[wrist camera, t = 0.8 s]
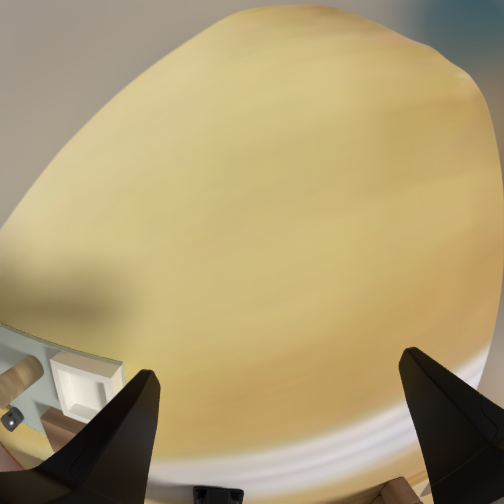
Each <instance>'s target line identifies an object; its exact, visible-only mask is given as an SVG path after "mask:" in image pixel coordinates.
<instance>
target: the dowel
mask: <svg viewBox="0 0 504 504" xmlns="http://www.w3.org/2000/svg"><path fill="white" fill-rule="evenodd" d="M43 375H44V369H43V366H42V364H41V362H40V361H39V360H38V359H37V358H36V357H35V356H33V355H29V356H28V357H26V358H25V359H23V360H22V361H20V362H19V363H17V364H16V365H14V366H13V367H11V368H10V369H8V370H7V371H5V372H4V373H2V374H1V375H0V408H2V409H4V408H5V407H6V406H8V405H9V404H10V403H11V402H12V401H13V400H15V399H16V398H17V397H18V396H19V395H20V394H22V393H23V392H24V391H25V390H26V389H28V388H29V387H30V386H31V385H32V384H34V383H35V382H36V381H37V380H39V379H40V378H41V377H42V376H43Z"/></svg>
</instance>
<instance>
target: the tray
mask: <svg viewBox="0 0 504 504" xmlns="http://www.w3.org/2000/svg"><path fill="white" fill-rule="evenodd" d="M50 363H51V368H52V372H53V377H54V381H55V385H56V389H57V393H58V397H59V401H60V404H61V408H62V411H63V414H64V415H65V416H68V417H70V418H73V419H76V420H78V421H81V422H84V423H87V424H88V423H89V422H90V421H91V420H92V419H93V418H94V417H95V416H96V415H97V414H98V413H99V412H100V411H101V410H102V409H103V408H104V407H105V406H106V405H107V404H108V403H109V402H110V401H111V400H112V399H113V397H114V396H115V395H116V394H117V393H118V392H119V391H120V390H121V389H122V388H123V384H122V375H121V366H119V365H114V364H110V363H106V362H102V361H98V360H94V359H91V358H87V357H83V356H80V355H77V354H73V353H70V352H67V351H64V350H62V351H61V352H59V353H58V354H56V355H55V356H54V357H52V358H51V359H50Z"/></svg>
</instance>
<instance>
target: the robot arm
mask: <svg viewBox="0 0 504 504" xmlns="http://www.w3.org/2000/svg"><path fill="white" fill-rule="evenodd" d="M399 372H400V376H401V380H402V384H403V389H404V393H405V397H406V401H407V405H408V408H409V411H410V414H411V417H412V420H413V423H414V426H415V430H416V433H417V436H418V440H419V443H420V447H421V450H422V454H423V457H424V461H425V465H426V469H427V473H428V477H429V482H430V485H431V491H432V496H433V501H434V504H504V409H502V408H501V407H499V406H498V405H496V404H495V403H493V402H492V401H490V400H489V399H487V398H486V397H484V396H483V395H482V394H480V393H479V392H478V391H476V390H475V389H474V388H472V387H471V386H470V385H468V384H467V383H465V382H464V381H463V380H461V379H460V378H459V377H457V376H456V375H454V374H453V373H452V372H450V371H449V370H447V369H446V368H445V367H443V366H442V365H440V364H439V363H438V362H436V361H435V360H433V359H432V358H431V357H429V356H428V355H426V354H425V353H424V352H422V351H421V350H419V349H418V348H416V347H410V348H406V349H405V350H404V352H403V354H402V357H401V359H400V361H399ZM160 389H161V388H160V383H159V381H158V379H157V377H156V375H155V373H154V371H152V370H147V369H142V370H140V371H139V372H138V373H137V374H136V375H135V376H134V377H133V378H132V379H131V380H130V381H129V382H128V383H127V384H126V385H125V386H124V387H123V388H122V389H121V390H120V391H119V392H118V393H117V394H116V395H115V396H114V397H113V399H112V400H111V401H110V402H109V403H108V404H107V405H106V406H105V407H104V408H103V409H102V410H101V411H100V412H99V413H98V414H97V415H96V416H95V417H94V418H93V419H92V420H91V421H90V422H89V423H88V424H87V425H86V426H84V427H83V429H82V430H80V431H79V432H78V433H77V434H76V435H75V436H74V437H73V438H72V439H71V440H70V441H69V442H68V443H67V444H66V445H64V446H63V447H62V448H61V449H60V450H58V451H57V452H56V453H54V454H53V455H52V456H51V457H49V458H48V459H47V460H45V461H44V462H43V463H41V464H40V465H39V466H37V467H35V468H32V469H29V470H22V471H8V472H0V504H144V499H145V492H146V486H147V479H148V473H149V467H150V461H151V456H152V450H153V445H154V440H155V434H156V429H157V423H158V412H159V400H160ZM193 494H194V504H242V501H243V496H244V491H243V490H231V489H215V488H204V487H194V488H193Z"/></svg>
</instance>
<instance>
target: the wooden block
mask: <svg viewBox="0 0 504 504" xmlns="http://www.w3.org/2000/svg"><path fill="white" fill-rule="evenodd" d="M380 494H381V495H380V496H379V497H377V498H375V500H374V501H373V502H372V503H371V504H423V502H422V501H421V502H420V499H419V497H418V496H417V495H416V493H415V492H414V490H413V489H412V488H411V486H410V485H409V483H408V482H407V480H406V479H405V478H404V477H400V478H397V479H394V480H391V481H388V482H387V483H386V485H385V486H384V487H383V489H382V490H381V491H380Z"/></svg>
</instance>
